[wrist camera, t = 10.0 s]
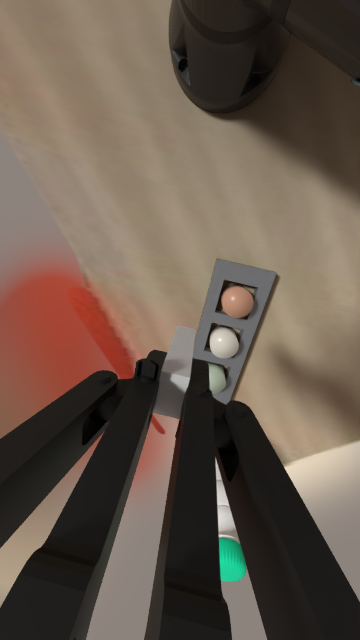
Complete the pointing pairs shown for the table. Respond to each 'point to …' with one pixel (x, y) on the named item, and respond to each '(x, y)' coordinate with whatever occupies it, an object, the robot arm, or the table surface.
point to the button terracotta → (236, 301)
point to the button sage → (216, 377)
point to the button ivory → (223, 341)
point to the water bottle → (228, 538)
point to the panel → (247, 323)
